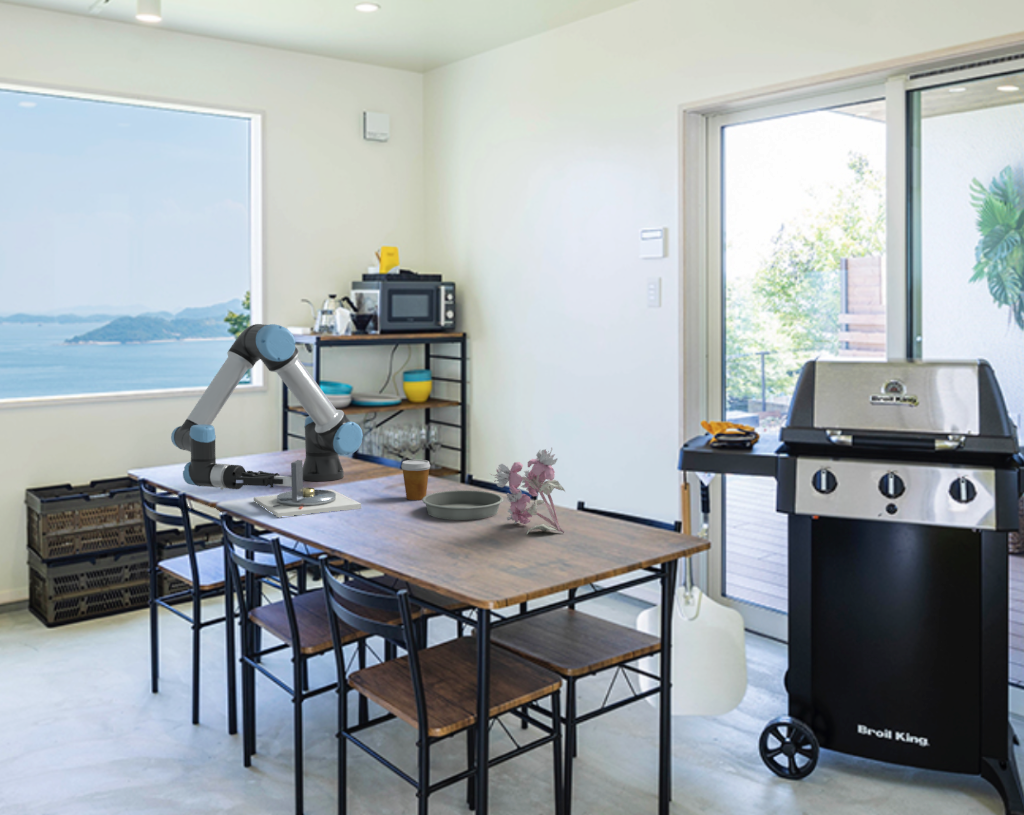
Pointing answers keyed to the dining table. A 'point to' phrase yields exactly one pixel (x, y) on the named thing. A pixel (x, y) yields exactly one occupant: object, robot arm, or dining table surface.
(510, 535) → the dining table surface
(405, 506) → the dining table surface
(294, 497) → the dial
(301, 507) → the dial board
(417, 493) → the disposable coffee cup
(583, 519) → the dining table surface
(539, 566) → the dining table surface
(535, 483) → the flower
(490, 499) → the cake pan
